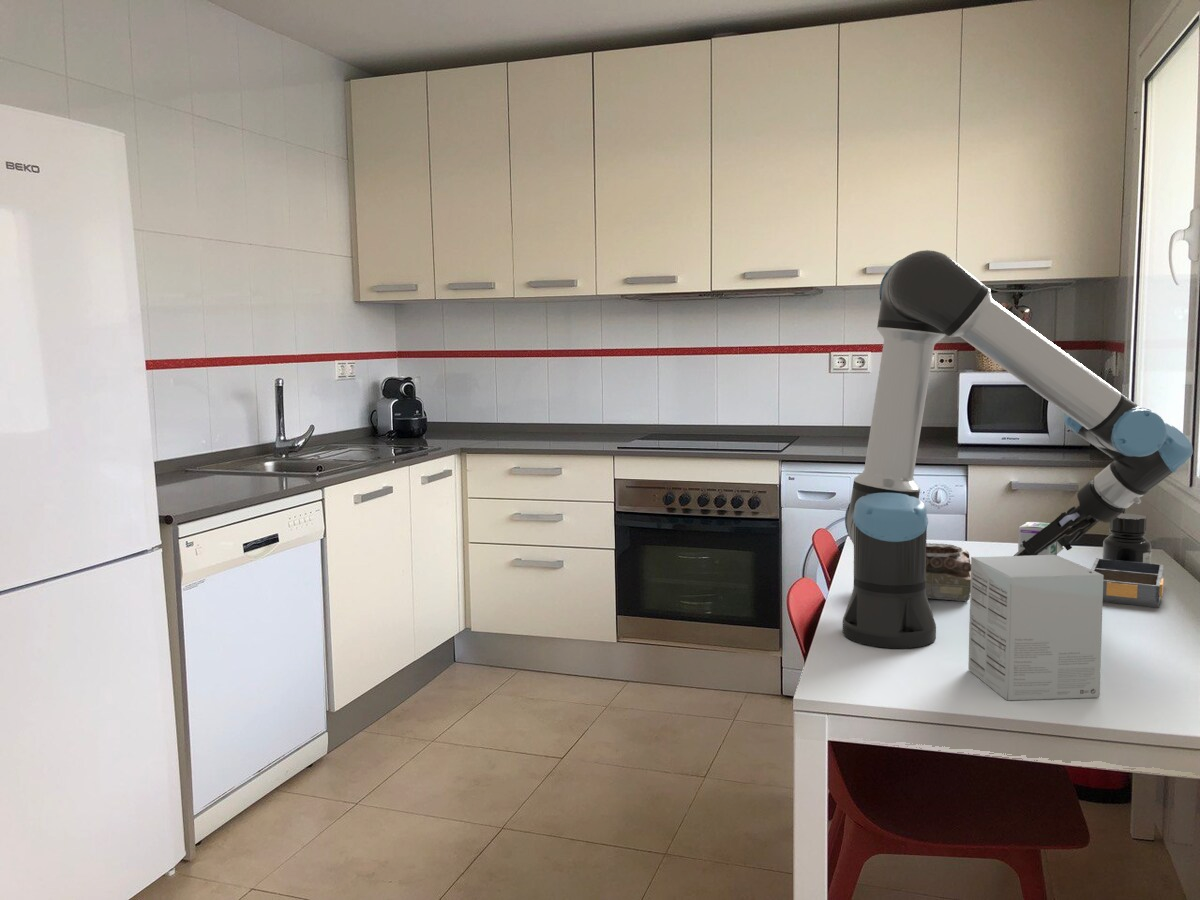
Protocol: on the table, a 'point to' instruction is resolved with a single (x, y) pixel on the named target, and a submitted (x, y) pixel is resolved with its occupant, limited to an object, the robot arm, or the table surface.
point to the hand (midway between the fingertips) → (1021, 566)
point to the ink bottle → (1127, 539)
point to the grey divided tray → (1131, 582)
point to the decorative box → (947, 572)
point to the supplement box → (1036, 627)
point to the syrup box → (1029, 531)
